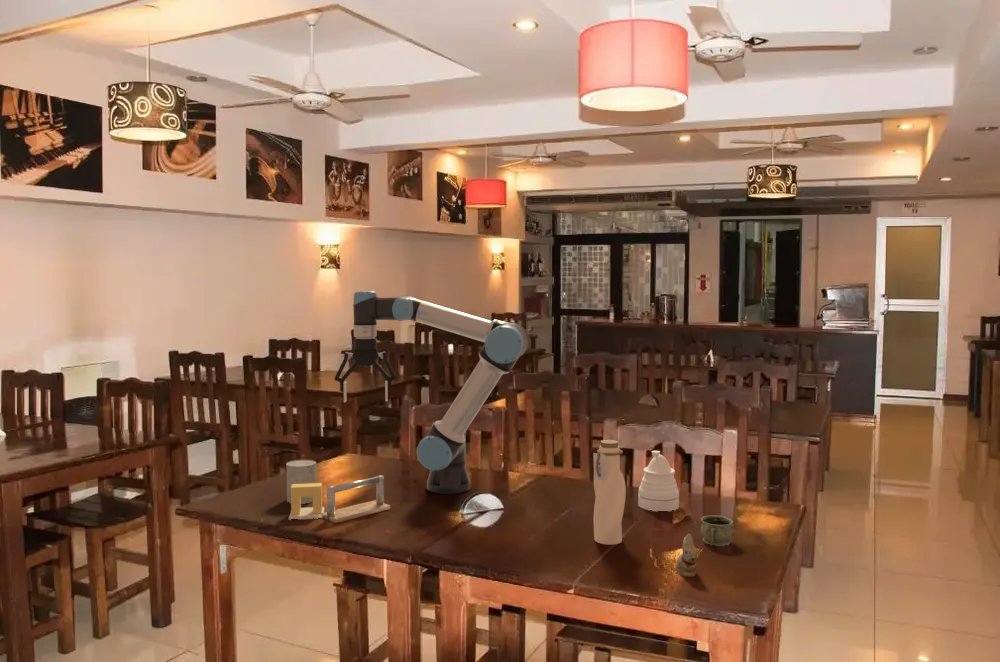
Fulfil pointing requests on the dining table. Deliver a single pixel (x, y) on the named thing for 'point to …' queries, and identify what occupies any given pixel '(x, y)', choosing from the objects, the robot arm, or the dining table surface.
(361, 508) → the rail stand
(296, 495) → the c link
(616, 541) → the water bottle
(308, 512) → the coaster
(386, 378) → the robot arm
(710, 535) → the vessel
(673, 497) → the honey pot
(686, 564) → the chocolate bunny
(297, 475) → the grey speckled cylinder
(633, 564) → the dining table surface
